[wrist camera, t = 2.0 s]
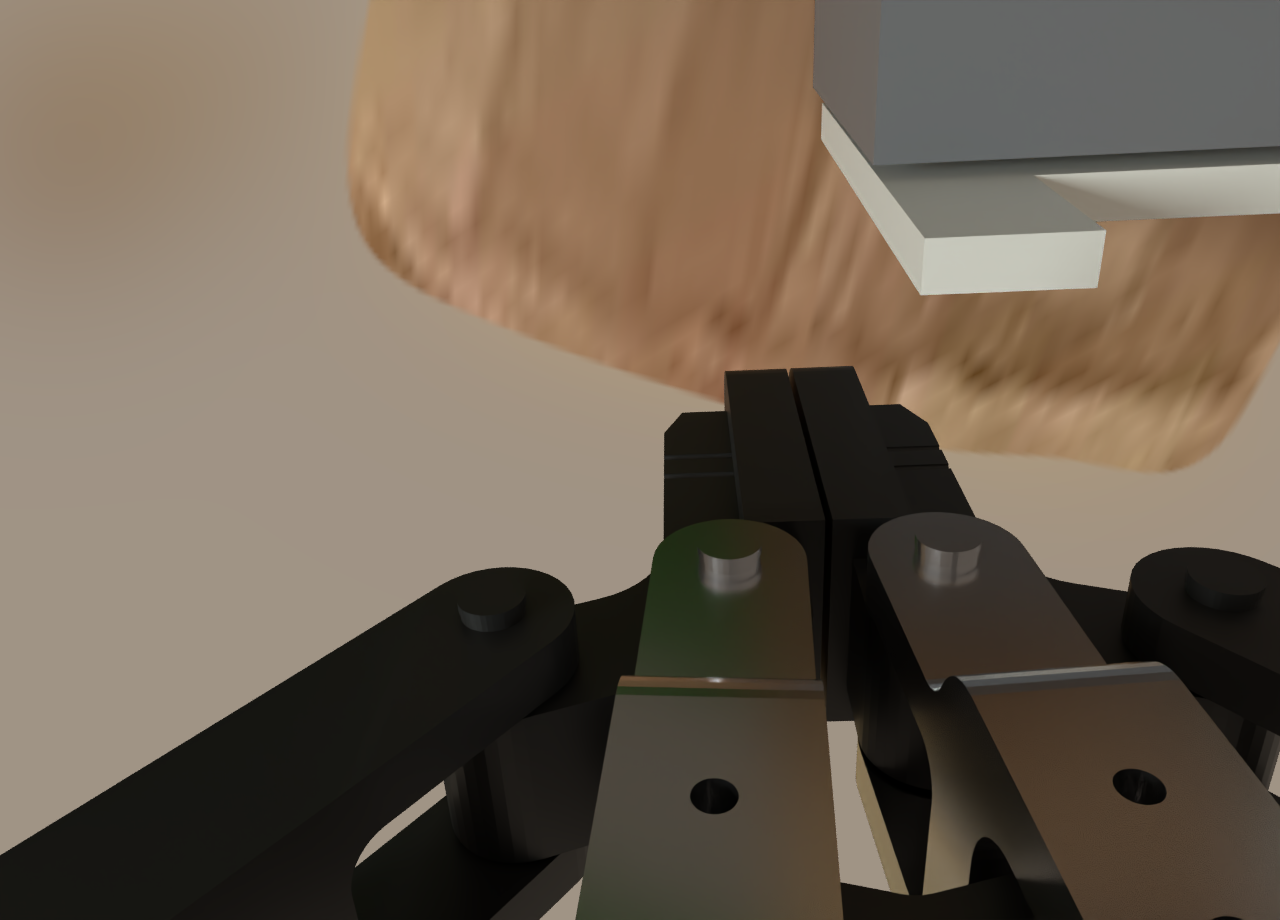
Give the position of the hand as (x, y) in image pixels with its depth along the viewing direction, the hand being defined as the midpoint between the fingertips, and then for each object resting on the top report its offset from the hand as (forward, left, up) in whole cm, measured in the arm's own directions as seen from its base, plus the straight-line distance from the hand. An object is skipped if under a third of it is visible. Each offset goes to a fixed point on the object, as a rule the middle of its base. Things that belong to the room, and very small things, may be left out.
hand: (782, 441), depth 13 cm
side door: (0, +8, -20) cm, 21 cm away
